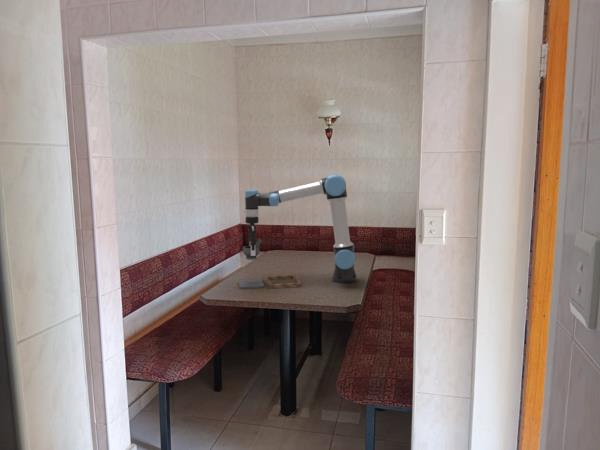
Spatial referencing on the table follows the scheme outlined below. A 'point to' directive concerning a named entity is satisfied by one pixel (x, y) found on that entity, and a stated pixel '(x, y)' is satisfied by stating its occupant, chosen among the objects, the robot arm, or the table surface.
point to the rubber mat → (251, 284)
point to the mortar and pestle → (248, 250)
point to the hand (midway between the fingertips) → (252, 254)
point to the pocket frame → (297, 284)
